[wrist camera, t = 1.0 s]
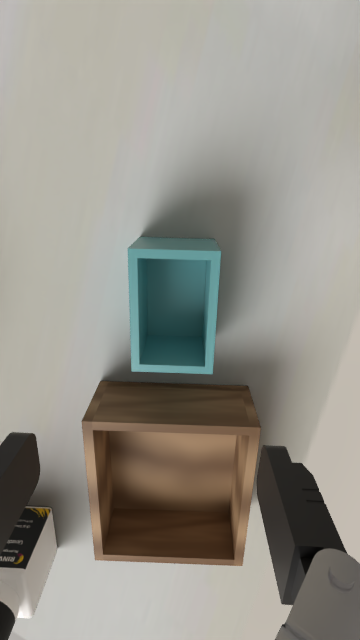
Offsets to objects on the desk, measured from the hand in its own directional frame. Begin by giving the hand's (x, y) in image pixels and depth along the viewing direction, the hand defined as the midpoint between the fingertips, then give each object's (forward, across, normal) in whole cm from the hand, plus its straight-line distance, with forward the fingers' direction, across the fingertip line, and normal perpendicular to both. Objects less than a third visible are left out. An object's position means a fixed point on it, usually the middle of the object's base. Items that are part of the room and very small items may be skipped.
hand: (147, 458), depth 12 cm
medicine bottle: (+18, +16, +28) cm, 38 cm away
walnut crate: (+18, 0, +16) cm, 24 cm away
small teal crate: (+18, 0, -1) cm, 18 cm away
